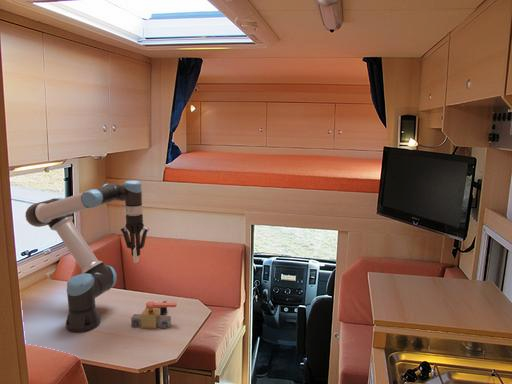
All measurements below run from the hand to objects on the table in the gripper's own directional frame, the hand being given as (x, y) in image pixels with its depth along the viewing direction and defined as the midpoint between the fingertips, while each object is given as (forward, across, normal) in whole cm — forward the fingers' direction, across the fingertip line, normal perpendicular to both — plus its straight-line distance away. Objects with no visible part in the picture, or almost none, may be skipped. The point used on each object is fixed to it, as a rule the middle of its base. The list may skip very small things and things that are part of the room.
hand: (136, 261), depth 192 cm
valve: (+29, +8, -5) cm, 31 cm away
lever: (+20, +13, -4) cm, 24 cm away
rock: (+30, +8, +5) cm, 31 cm away
